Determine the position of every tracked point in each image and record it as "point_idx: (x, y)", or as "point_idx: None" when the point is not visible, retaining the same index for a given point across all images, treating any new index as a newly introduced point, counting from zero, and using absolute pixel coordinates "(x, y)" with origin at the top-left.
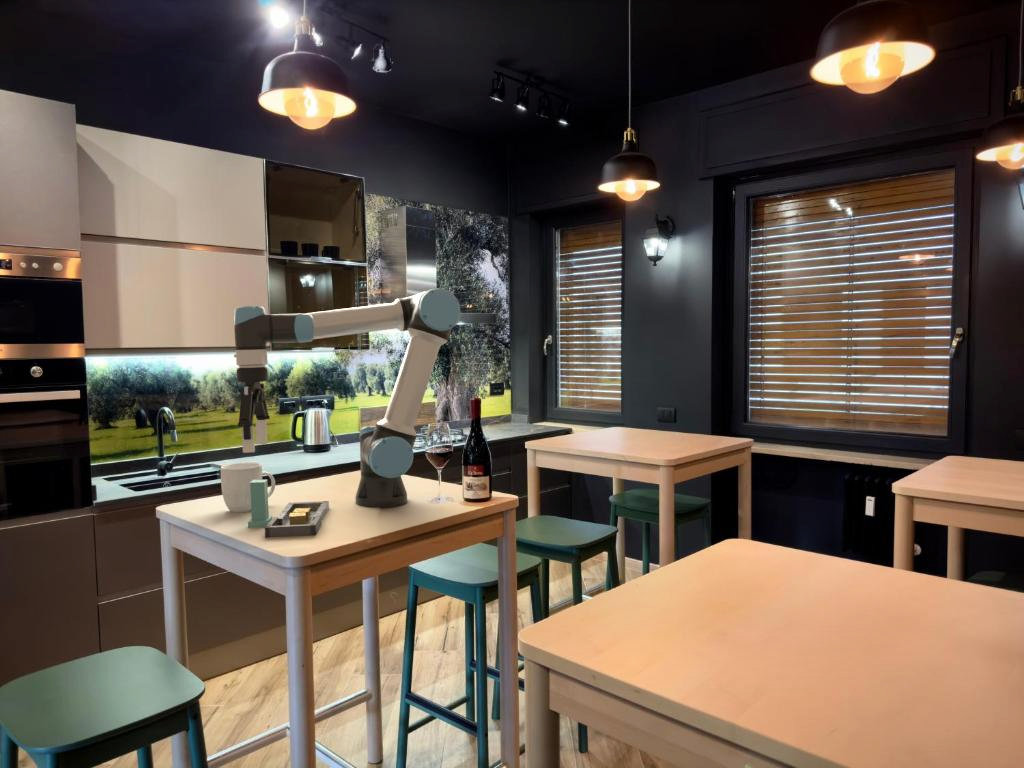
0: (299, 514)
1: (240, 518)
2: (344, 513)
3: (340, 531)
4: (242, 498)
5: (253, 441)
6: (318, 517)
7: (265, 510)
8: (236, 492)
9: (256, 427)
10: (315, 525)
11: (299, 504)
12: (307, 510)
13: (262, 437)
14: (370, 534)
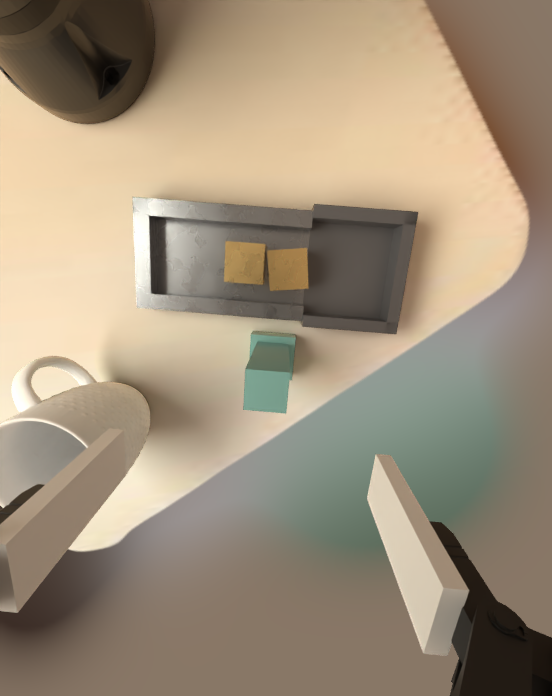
0: (292, 264)
1: (193, 403)
2: (192, 155)
3: (372, 157)
4: (144, 420)
5: (413, 495)
6: (339, 210)
7: (286, 349)
8: (140, 441)
9: (60, 551)
10: (417, 212)
11: (151, 278)
12: (253, 247)
13: (103, 471)
14: (428, 69)
